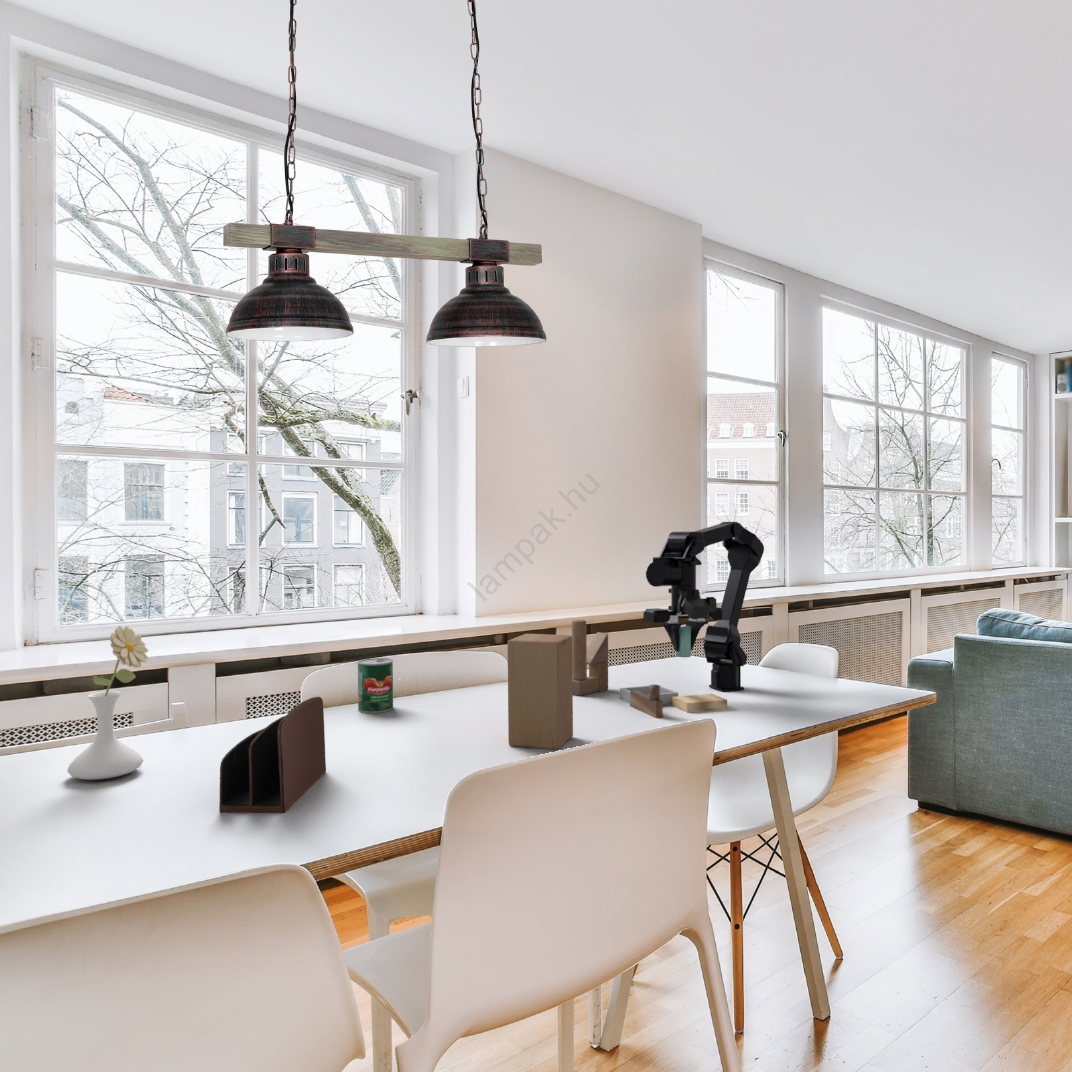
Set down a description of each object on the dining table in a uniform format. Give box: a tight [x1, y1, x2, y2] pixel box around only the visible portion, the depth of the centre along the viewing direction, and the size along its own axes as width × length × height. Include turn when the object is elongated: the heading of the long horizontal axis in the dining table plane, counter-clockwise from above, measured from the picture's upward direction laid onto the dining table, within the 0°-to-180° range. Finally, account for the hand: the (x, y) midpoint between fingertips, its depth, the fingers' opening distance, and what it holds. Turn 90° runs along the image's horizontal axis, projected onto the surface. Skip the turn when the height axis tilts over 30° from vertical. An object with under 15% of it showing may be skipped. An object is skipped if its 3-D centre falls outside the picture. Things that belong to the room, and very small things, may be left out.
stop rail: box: [629, 684, 664, 719], centre depth 181 cm, size 2×12×6 cm, turn 20°
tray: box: [619, 685, 679, 706], centre depth 191 cm, size 10×10×2 cm
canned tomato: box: [357, 657, 394, 714], centre depth 186 cm, size 8×8×11 cm
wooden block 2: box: [571, 619, 609, 697], centre depth 202 cm, size 4×11×18 cm, turn 135°
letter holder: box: [218, 696, 327, 814], centre depth 130 cm, size 10×20×14 cm, turn 177°
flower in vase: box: [66, 625, 149, 781], centre depth 140 cm, size 13×11×25 cm
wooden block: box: [507, 633, 574, 751], centre depth 157 cm, size 10×10×20 cm
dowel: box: [676, 625, 692, 658], centre depth 193 cm, size 3×3×7 cm
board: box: [671, 693, 728, 714], centre depth 185 cm, size 10×7×2 cm
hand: (683, 651), depth 193 cm, fingers closed on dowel, 3 cm apart
